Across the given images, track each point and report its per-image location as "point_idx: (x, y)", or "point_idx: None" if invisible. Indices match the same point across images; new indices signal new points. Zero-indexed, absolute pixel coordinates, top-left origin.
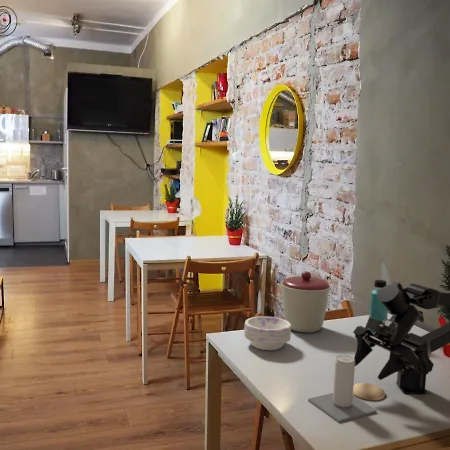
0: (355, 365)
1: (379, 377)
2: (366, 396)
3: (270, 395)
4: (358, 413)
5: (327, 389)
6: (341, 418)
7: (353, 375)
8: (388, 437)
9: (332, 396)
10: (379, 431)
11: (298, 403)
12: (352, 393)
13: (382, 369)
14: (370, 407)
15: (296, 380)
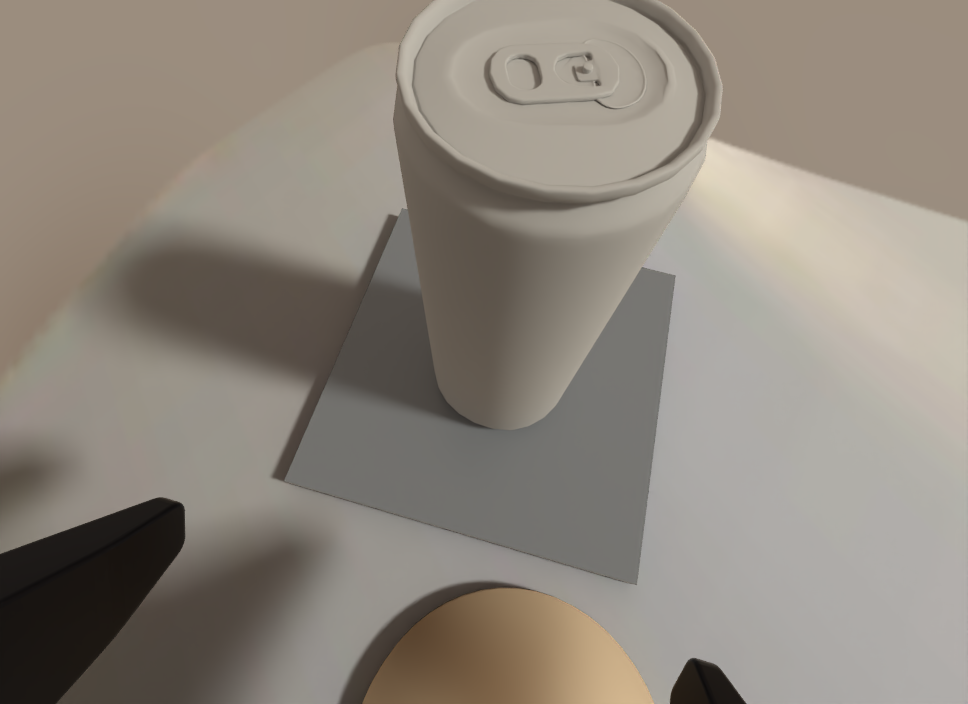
0: (675, 701)
1: (147, 504)
2: (451, 635)
3: (822, 193)
4: (358, 344)
5: (734, 515)
6: (401, 230)
7: (414, 247)
8: (125, 276)
9: (613, 412)
10: (188, 293)
11: (675, 228)
12: (431, 347)
13: (25, 578)
14: (335, 479)
15: (956, 455)
